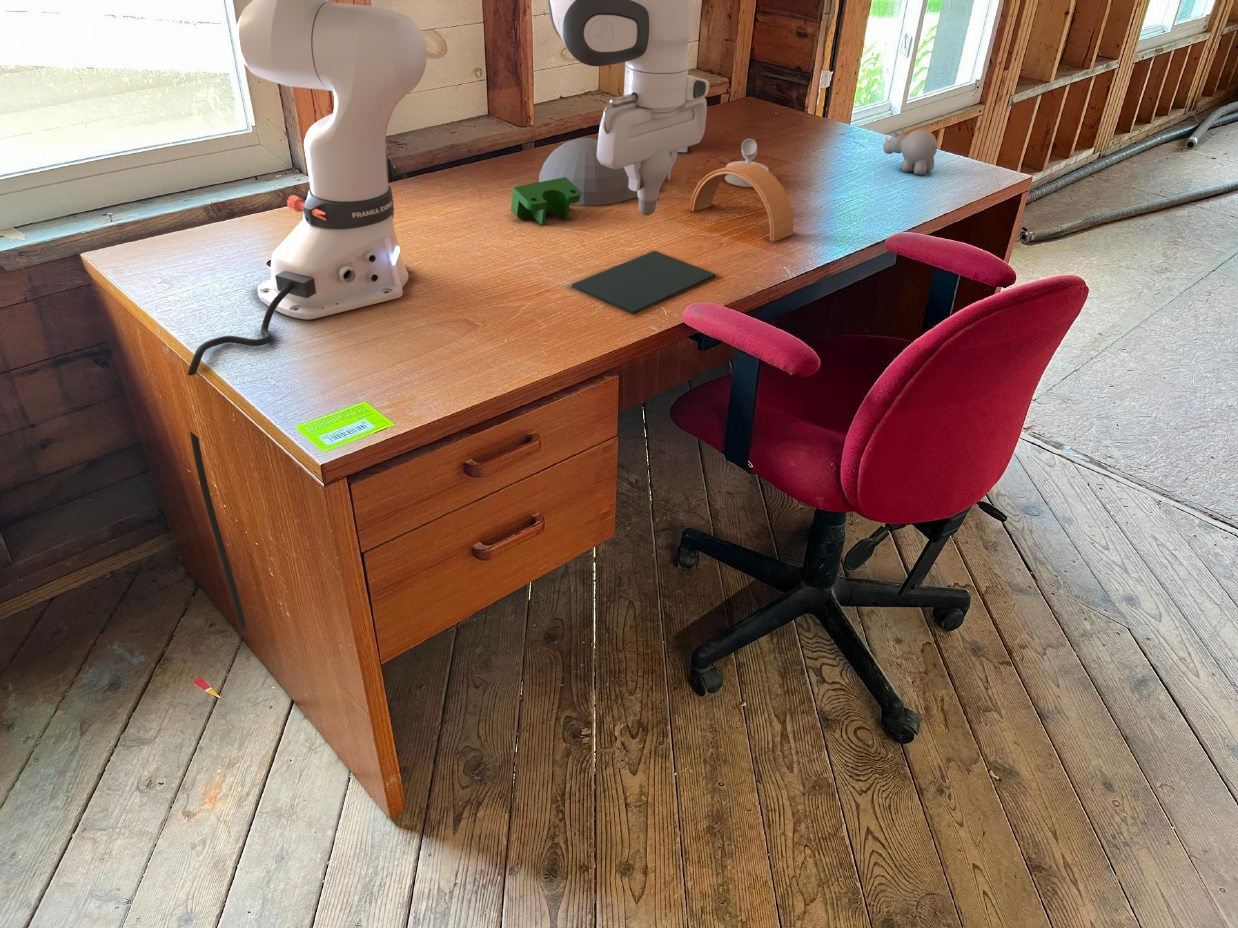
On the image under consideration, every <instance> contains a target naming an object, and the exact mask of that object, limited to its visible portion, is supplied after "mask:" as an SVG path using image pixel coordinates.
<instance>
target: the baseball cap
mask: <svg viewBox="0 0 1238 928" xmlns="http://www.w3.org/2000/svg"><path fill="white" fill-rule="evenodd" d="M597 145H598V139H596V138H592V137H591V138H590V137H580V138H576V139H572V140H568V141H566V142H564V143H562V144H561V145H560V146H558V147H556V148H555V149H553V151H552V152H551V153H550V154H549V156H548V157H547V158H546V160H545V161H544V163H543V164H542V167H541V170H540V172H539V175H538V182H543V181H548V180H553V179H558V178H563V177H566V178H567V179H568V180H569V181H570V182H571V183H573V184H574V185H575V186H576V187H577V188H578V189H579V190H580V191H581V195H580V200H579V202H576V203H571V204H570V205H575V206H604V205H605V206H606V205H613V204H616V203H620V202H625V201H627V200H630V199H634V198H638V191H633V190H630V189H629V186H628V185H629V177H628V175H627V173H626V171H625V169H624V167H623V168H619V169H612V168H609V167H606V166H604V165H601V164H600V162H599V161H598V159H597Z"/></svg>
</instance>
